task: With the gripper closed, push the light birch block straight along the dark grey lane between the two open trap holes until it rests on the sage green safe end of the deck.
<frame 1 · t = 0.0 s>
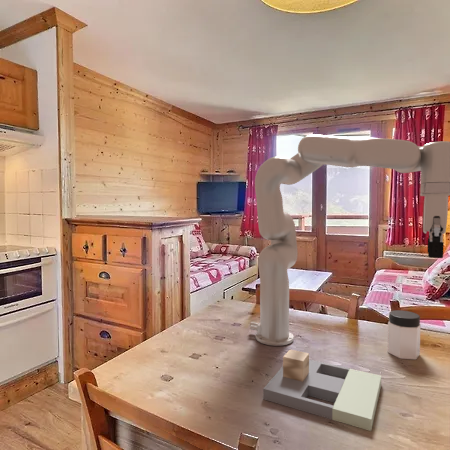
hand: (434, 255, 91), 31 cm above the table, fingers open, 9 cm apart
birch block: (296, 374, 86), point 2 cm above the table, touching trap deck
jar: (403, 354, 103), on the table
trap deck: (324, 391, 82), on the table
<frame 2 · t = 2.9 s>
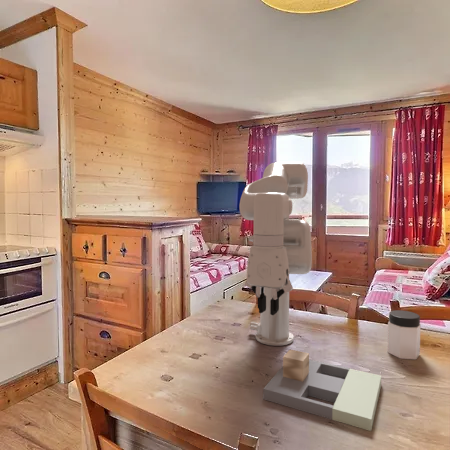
hand: (268, 312, 88), 17 cm above the table, fingers closed
nothing on the table moved.
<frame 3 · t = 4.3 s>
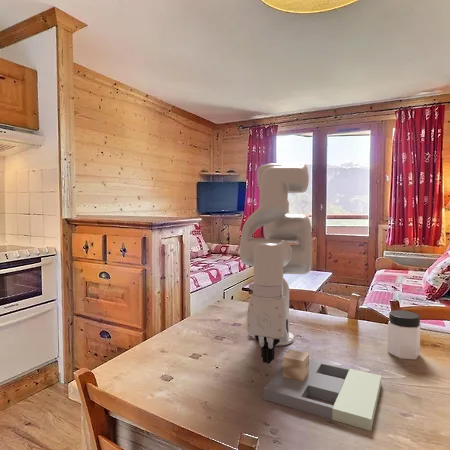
hand: (267, 361, 89), 4 cm above the table, fingers closed
nothing on the table moved.
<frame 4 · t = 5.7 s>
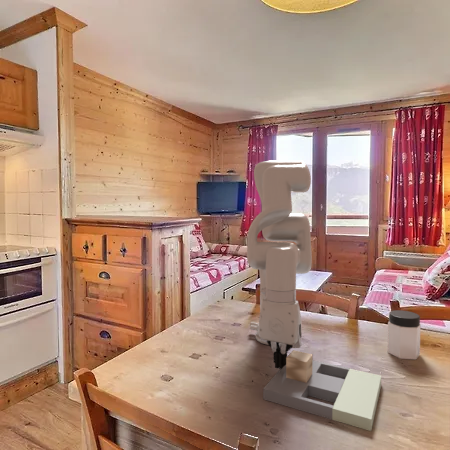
hand: (280, 366, 87), 4 cm above the table, fingers closed
birch block: (299, 375, 85), point 3 cm above the table, touching gripper
everything else where it was.
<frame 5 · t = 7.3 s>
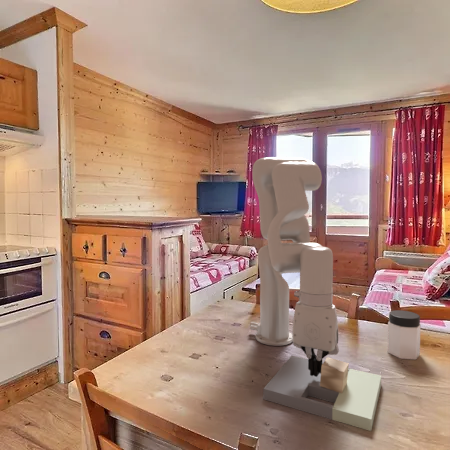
hand: (315, 373, 83), 4 cm above the table, fingers closed
birch block: (333, 384, 81), point 3 cm above the table, touching gripper, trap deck
everything else where it was.
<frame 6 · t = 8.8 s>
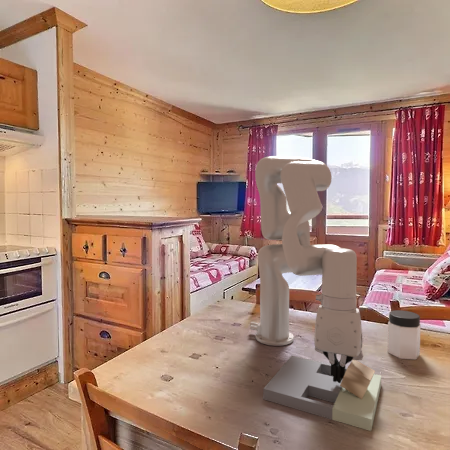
hand: (338, 379, 80), 4 cm above the table, fingers closed
birch block: (353, 387, 78), point 3 cm above the table, tilted 19°, touching gripper, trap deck
everything else where it was.
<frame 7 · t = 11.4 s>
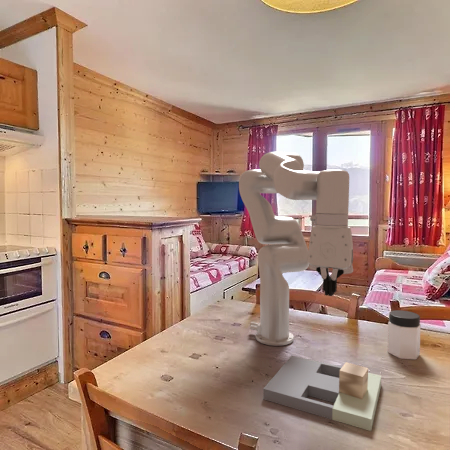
hand: (329, 294, 86), 22 cm above the table, fingers closed
birch block: (353, 390, 78), point 2 cm above the table, touching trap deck
everything else where it was.
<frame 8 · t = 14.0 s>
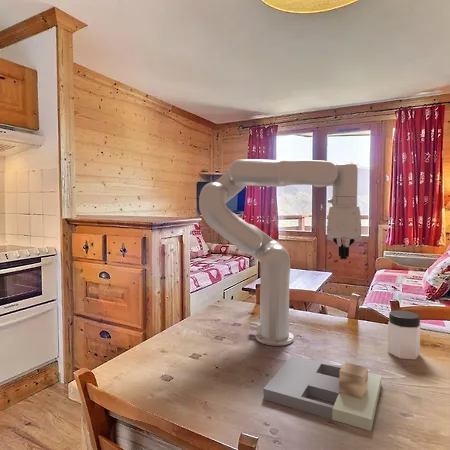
hand: (343, 258, 112), 27 cm above the table, fingers closed
nothing on the table moved.
at the end: birch block inside the target area on the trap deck (1.3 cm from its centre), point 2.5 cm above the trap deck's base; birch block tilted 1°; birch block moved 13.6 cm from its start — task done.
